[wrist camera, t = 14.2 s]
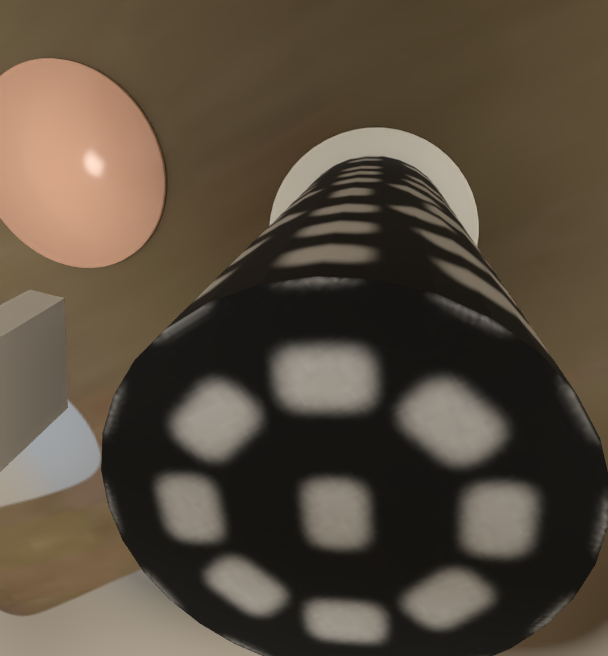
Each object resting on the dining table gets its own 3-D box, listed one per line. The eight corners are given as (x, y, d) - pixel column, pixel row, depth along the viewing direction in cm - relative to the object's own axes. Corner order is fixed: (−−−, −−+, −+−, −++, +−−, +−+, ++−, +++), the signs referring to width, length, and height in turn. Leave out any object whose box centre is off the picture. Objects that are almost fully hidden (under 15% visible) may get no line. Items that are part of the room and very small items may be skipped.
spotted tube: (449, 308, 27) (575, 697, 9) (300, 313, 29) (155, 658, 11) (452, 148, 24) (658, 261, 6) (285, 162, 26) (40, 289, 7)
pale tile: (289, 106, 25) (287, 106, 24) (508, 152, 24) (510, 153, 24) (257, 306, 29) (255, 309, 29) (440, 349, 29) (441, 352, 28)
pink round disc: (-30, 39, 26) (-36, 38, 25) (174, 82, 25) (171, 82, 25) (-13, 243, 30) (-18, 245, 30) (159, 284, 30) (157, 286, 29)
